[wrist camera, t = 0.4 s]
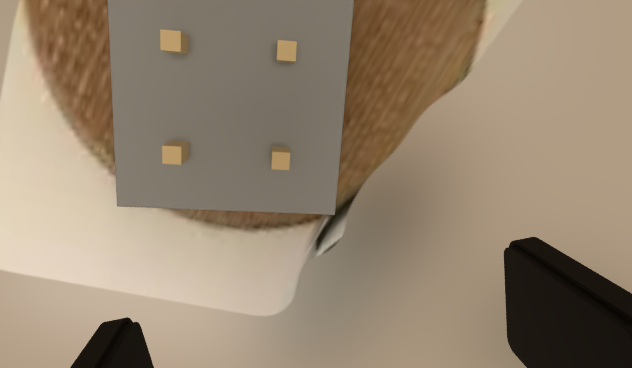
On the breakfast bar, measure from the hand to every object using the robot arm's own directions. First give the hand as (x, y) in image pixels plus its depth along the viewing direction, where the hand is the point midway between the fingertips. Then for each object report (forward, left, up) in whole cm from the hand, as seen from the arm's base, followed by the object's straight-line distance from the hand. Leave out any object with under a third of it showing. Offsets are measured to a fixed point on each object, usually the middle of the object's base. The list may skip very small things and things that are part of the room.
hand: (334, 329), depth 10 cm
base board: (-4, -5, -29) cm, 30 cm away
